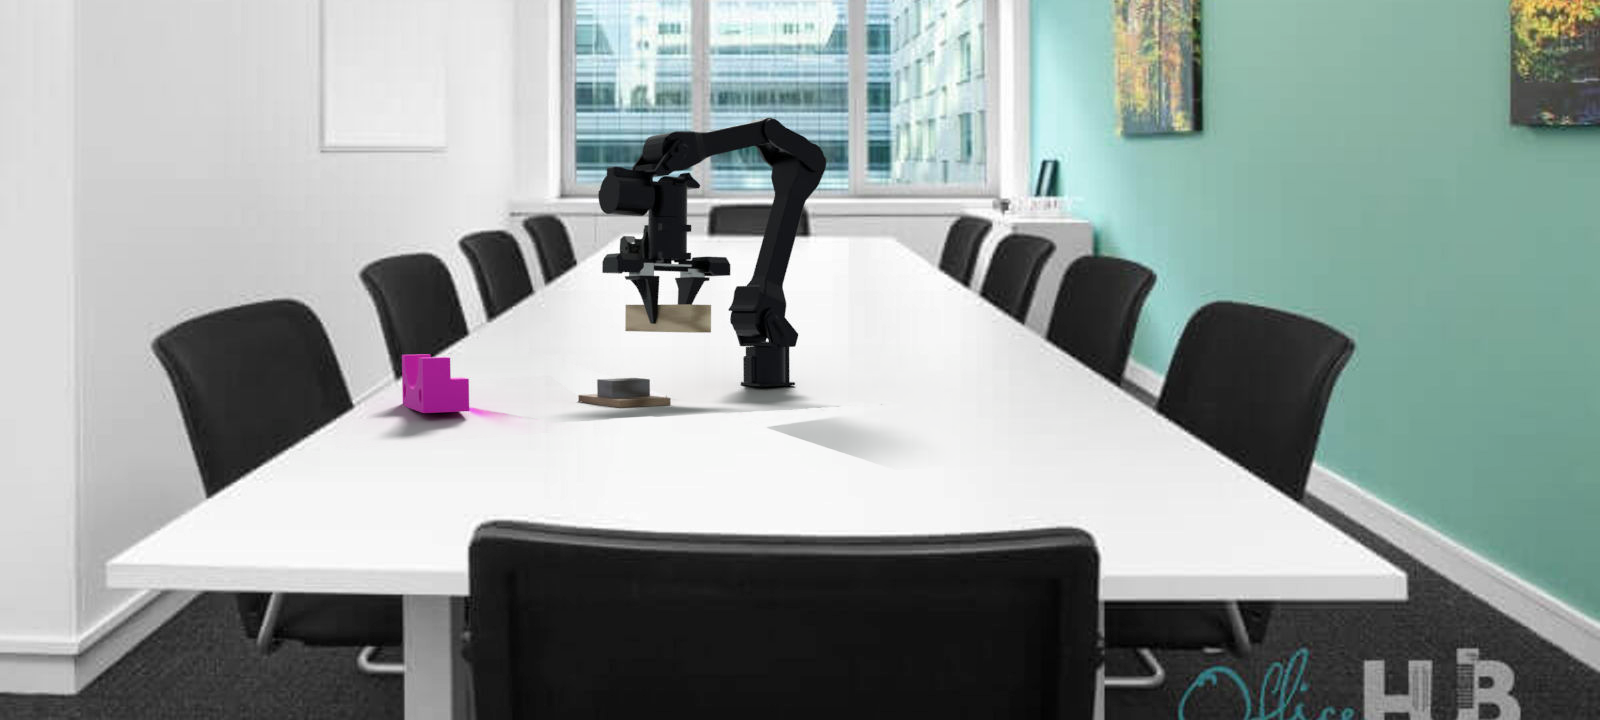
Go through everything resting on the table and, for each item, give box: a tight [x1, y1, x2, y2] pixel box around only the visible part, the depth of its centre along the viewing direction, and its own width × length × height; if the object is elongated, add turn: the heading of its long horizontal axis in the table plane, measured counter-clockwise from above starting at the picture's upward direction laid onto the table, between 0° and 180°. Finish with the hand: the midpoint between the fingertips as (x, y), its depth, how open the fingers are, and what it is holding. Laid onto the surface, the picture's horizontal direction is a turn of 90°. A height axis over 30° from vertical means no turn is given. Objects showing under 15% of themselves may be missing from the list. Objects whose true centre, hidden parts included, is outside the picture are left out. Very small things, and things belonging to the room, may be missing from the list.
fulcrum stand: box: [578, 377, 672, 409], centre depth 196 cm, size 8×14×4 cm, turn 33°
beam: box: [624, 304, 712, 334], centre depth 199 cm, size 4×16×4 cm, turn 41°
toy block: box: [401, 353, 470, 414], centre depth 192 cm, size 15×6×8 cm, turn 27°
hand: (667, 323), depth 199 cm, fingers closed on beam, 4 cm apart
